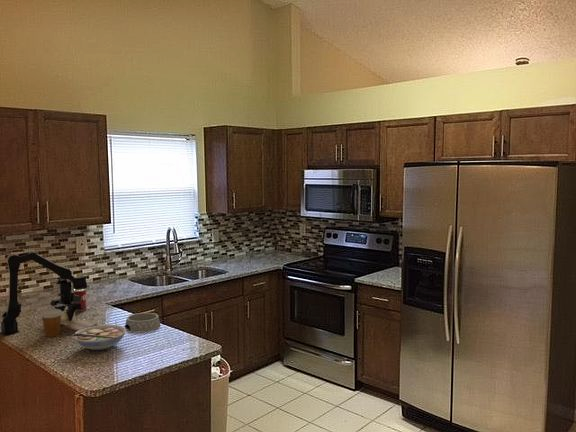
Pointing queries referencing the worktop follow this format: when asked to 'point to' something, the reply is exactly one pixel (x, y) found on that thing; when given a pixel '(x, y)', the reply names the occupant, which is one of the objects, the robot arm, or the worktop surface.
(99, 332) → the ramen bowl
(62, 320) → the maple cube
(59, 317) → the disposable coffee cup
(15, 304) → the robot arm
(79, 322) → the walnut board
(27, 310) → the worktop surface
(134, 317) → the dog bowl
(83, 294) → the soda can
